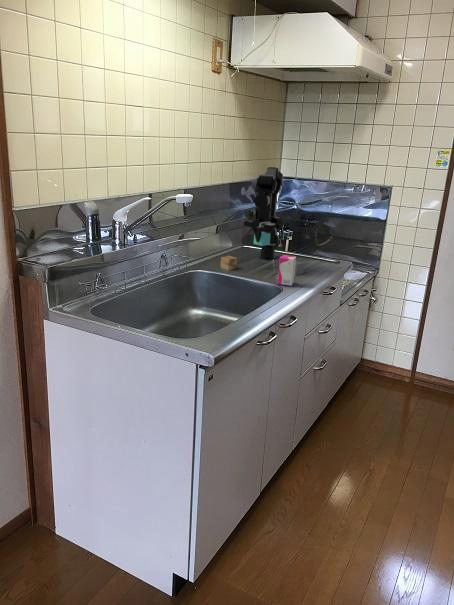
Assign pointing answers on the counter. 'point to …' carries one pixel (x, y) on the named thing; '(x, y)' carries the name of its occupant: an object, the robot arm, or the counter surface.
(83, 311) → the counter surface
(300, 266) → the charcoal cube
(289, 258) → the supplement box
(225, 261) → the walnut cube
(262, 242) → the teal cube
